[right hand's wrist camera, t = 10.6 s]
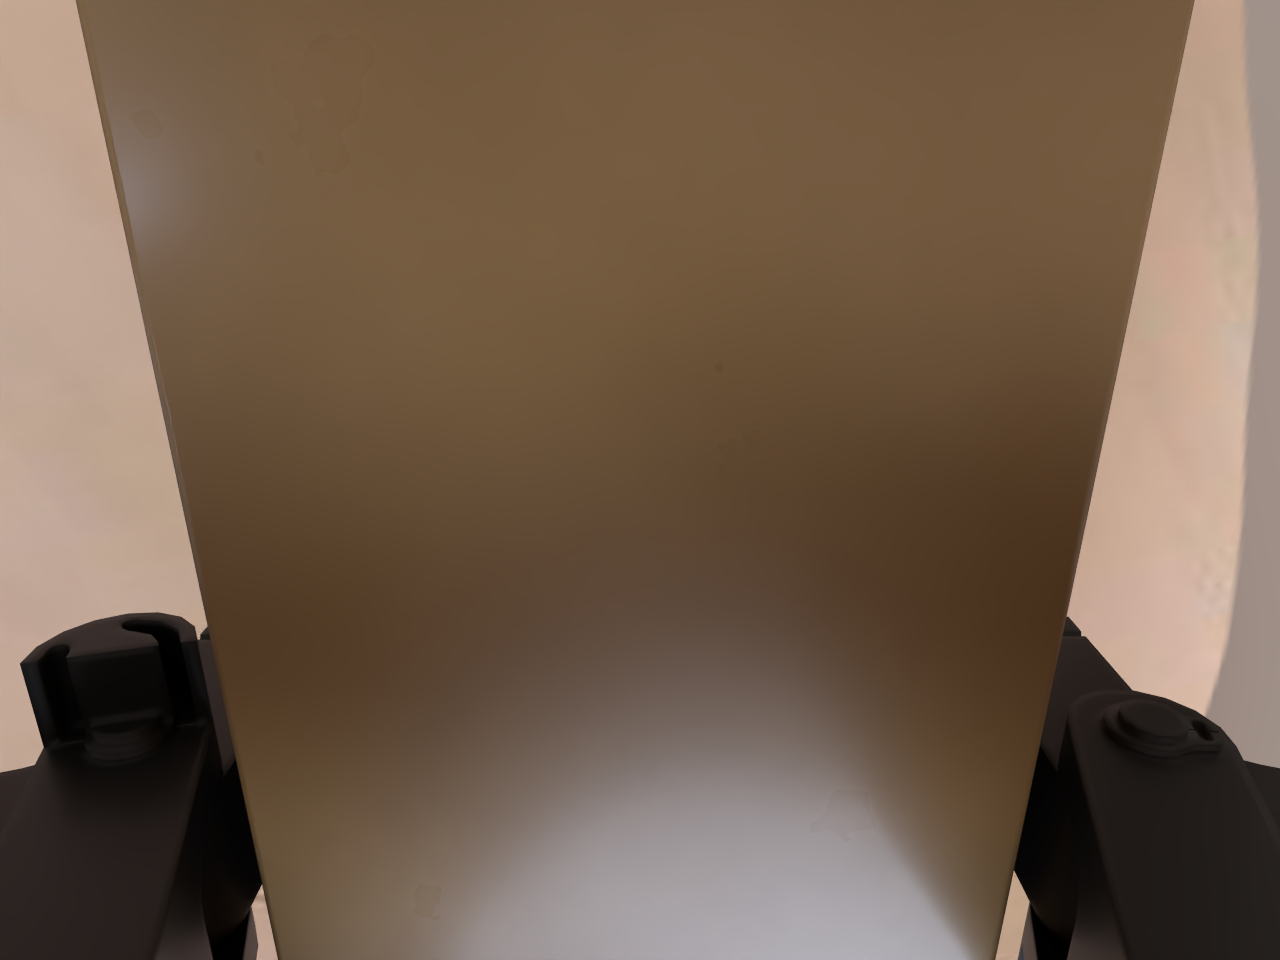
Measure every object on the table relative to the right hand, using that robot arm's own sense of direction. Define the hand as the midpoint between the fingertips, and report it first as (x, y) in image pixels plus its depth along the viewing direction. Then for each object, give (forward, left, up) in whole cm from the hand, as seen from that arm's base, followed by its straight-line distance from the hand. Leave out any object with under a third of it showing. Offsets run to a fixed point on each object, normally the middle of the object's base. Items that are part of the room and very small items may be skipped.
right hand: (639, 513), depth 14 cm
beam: (+18, 0, -1) cm, 19 cm away
